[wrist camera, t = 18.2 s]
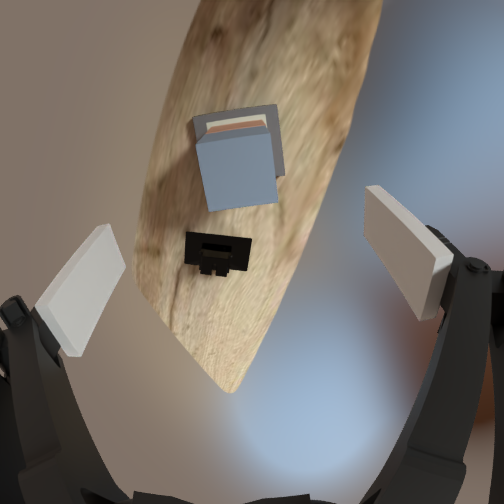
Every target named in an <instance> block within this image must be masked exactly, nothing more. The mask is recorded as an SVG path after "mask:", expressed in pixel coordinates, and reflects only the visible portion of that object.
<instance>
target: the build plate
mask: <svg viewBox="0 0 504 504" xmlns="http://www.w3.org/2000/svg"><path fill="white" fill-rule="evenodd" d="M251 243H252V239H251V238H242V237H233V236H224V235H215V234H206V233H196V232H186V241H185V259H184V263H185V264H191V265H199V270H201V272H200V274H205V275H212V270H216V276H222V277H227V273H229V269H231V270H239V271H247V268H248V262H249V255H250V249H251Z"/></svg>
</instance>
